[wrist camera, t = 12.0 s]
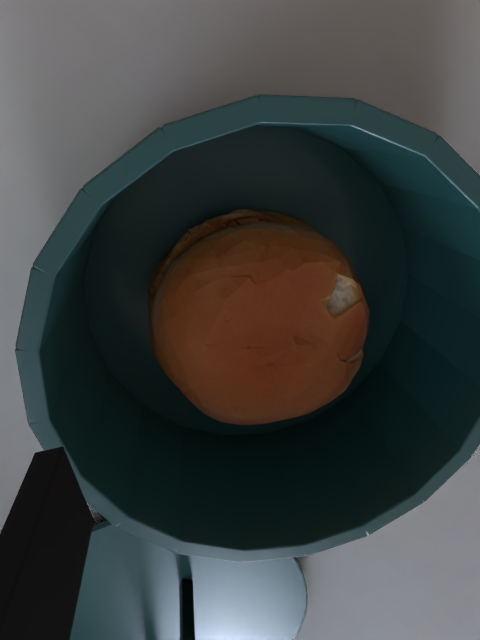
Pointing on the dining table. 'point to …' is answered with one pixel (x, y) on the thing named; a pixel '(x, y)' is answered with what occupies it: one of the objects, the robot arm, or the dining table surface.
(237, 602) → the lid
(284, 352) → the burger
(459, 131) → the dining table surface
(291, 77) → the dining table surface
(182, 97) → the dining table surface
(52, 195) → the dining table surface
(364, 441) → the pot
